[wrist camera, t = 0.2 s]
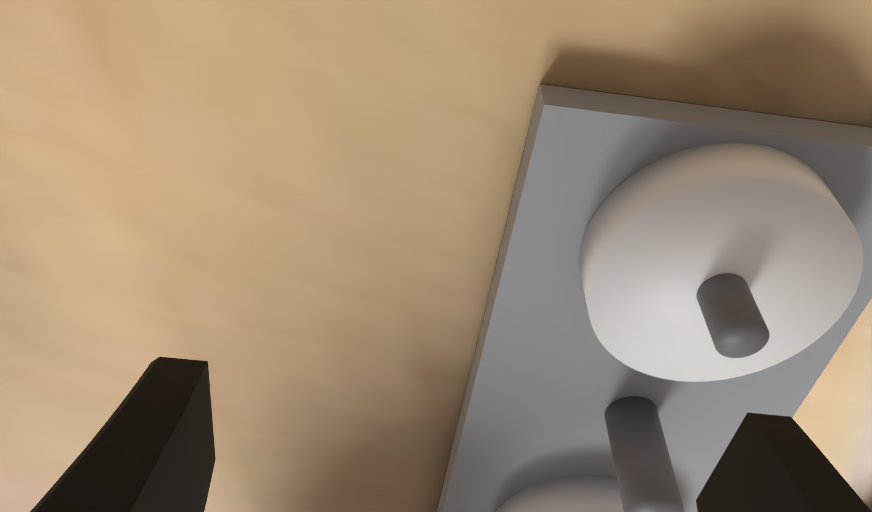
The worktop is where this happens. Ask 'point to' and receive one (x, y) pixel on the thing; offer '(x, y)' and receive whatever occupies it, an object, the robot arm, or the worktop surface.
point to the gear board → (554, 318)
